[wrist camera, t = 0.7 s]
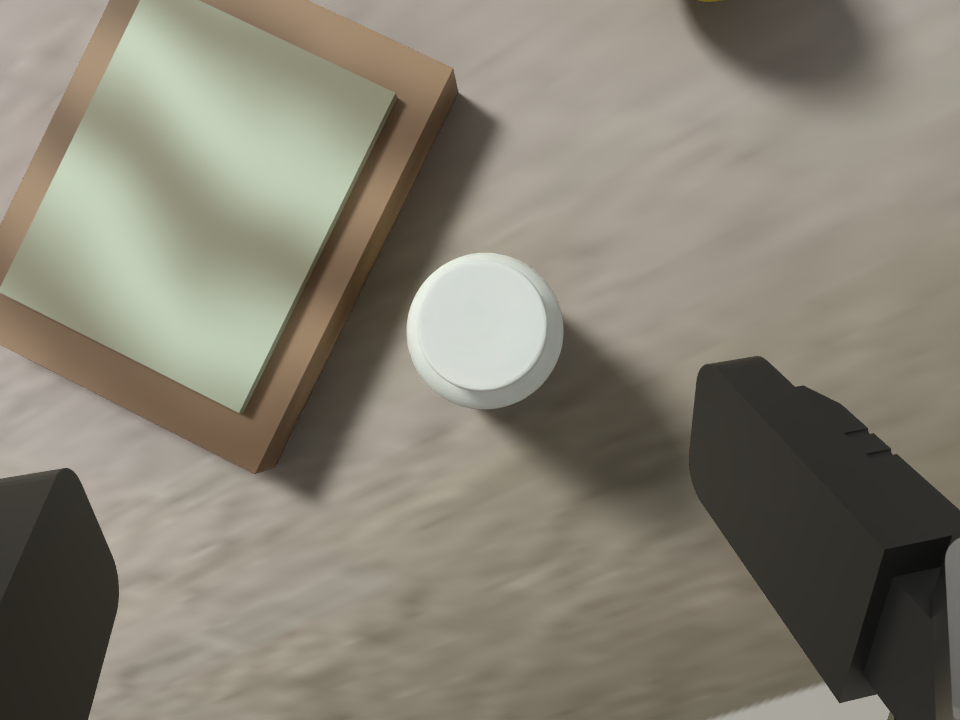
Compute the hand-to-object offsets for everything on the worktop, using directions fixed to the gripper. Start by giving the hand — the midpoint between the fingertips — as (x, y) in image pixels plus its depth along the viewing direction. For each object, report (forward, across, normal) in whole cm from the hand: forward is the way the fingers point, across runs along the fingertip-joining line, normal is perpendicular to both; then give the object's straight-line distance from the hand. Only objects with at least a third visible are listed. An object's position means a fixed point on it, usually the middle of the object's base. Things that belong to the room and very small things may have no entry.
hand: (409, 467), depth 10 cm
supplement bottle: (+20, -5, +10) cm, 23 cm away
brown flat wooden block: (+26, +6, +4) cm, 26 cm away
